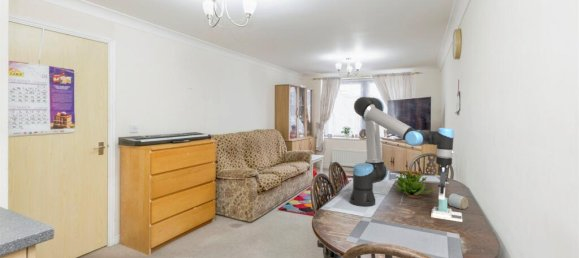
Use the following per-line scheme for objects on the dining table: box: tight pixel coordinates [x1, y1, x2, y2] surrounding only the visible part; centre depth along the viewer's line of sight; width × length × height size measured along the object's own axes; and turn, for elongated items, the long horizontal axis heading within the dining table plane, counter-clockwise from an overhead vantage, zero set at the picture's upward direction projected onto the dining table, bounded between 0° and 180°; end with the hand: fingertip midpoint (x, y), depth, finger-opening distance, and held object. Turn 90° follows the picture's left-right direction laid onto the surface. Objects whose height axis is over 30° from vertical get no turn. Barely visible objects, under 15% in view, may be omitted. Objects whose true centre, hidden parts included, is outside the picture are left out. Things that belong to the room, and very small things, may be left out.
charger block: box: [438, 196, 448, 212], centre depth 156 cm, size 4×4×9 cm
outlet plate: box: [430, 206, 463, 223], centre depth 155 cm, size 14×12×3 cm
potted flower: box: [392, 169, 436, 199], centre depth 192 cm, size 25×24×18 cm
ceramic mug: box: [447, 192, 469, 210], centre depth 170 cm, size 11×8×8 cm
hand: (441, 196), depth 156 cm, fingers open, 13 cm apart
